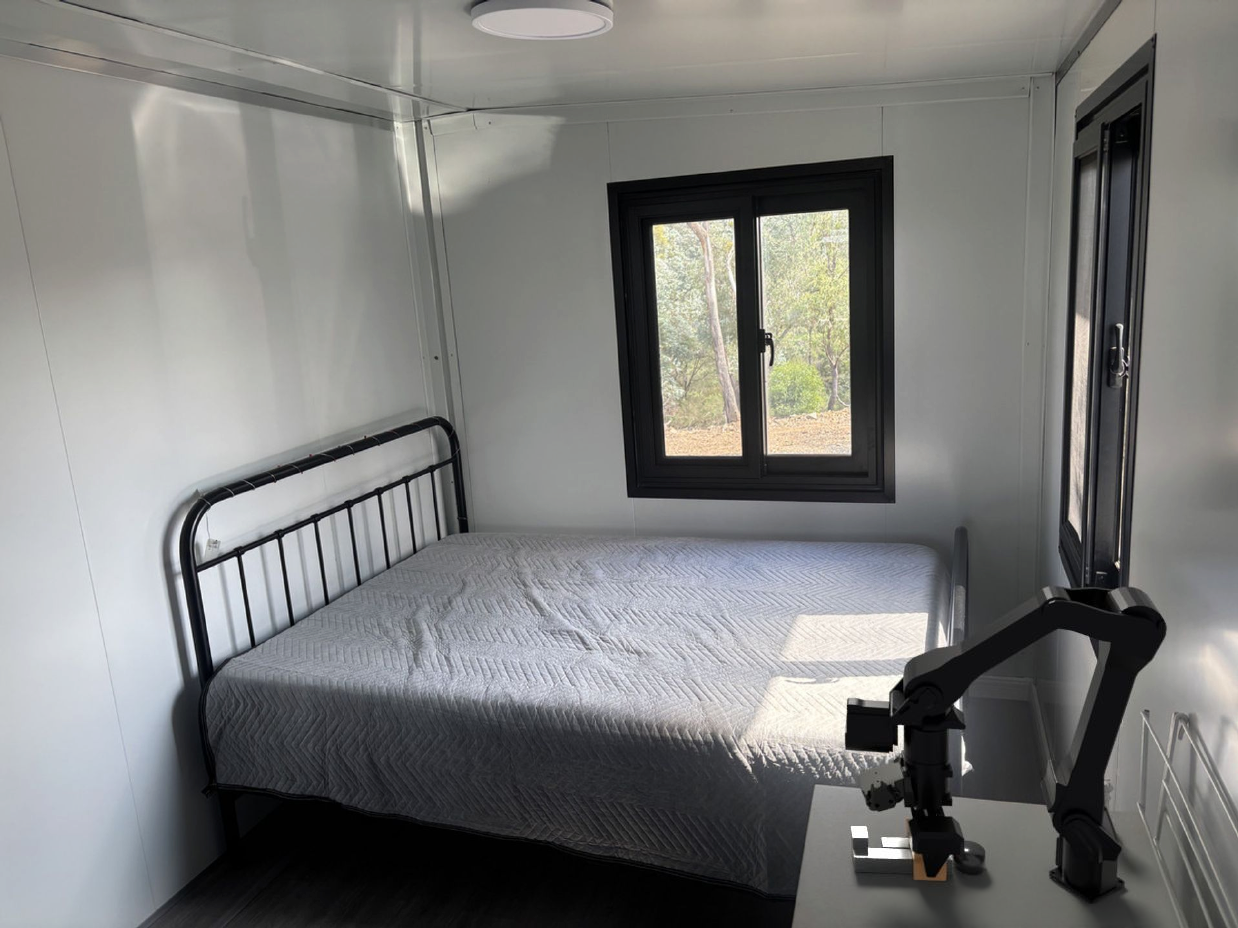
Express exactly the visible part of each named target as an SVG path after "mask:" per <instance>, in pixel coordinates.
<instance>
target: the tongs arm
mask: <svg viewBox="0 0 1238 928" xmlns="http://www.w3.org/2000/svg"><path fill="white" fill-rule="evenodd" d="M850 828H851V829H850V832H851V833H850V835H851V837H850V838H851V839H850V840H851V855H852V856H851V857H852V861H853V862H852V863H853V870H854V872H855V873H884V874H885V873H887V874H889V873H890V874H896V873H897V874H913V855H912V851H911V849H882V848H879V847H878V848H875V847H873V848H871V847H869V834H868V828H867V826H853V825H851V826H850ZM953 868H954V866H953V855H950V856H949V858H948V859H947V861H946V876H948V875H951V876H953Z"/></svg>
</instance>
